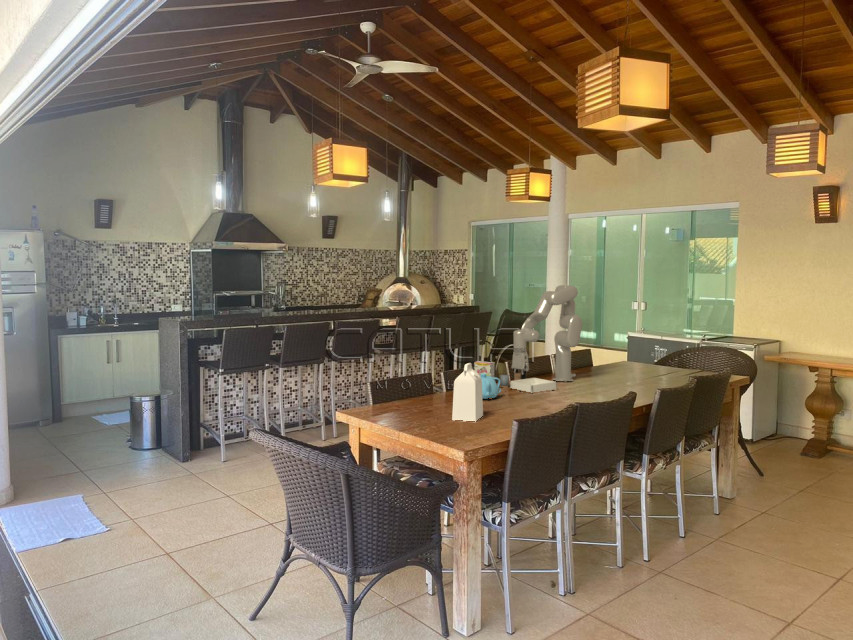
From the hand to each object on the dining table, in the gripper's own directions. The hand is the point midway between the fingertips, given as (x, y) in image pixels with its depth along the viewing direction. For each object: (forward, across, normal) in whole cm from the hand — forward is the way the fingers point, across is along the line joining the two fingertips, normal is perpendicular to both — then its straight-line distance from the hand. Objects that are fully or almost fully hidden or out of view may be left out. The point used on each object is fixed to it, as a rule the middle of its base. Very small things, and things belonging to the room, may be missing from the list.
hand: (520, 379), depth 394 cm
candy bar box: (+2, -1, +30) cm, 30 cm away
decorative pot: (+2, -19, +46) cm, 49 cm away
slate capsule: (+3, -1, +14) cm, 14 cm away
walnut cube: (+1, 0, 0) cm, 1 cm away
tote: (+3, -18, +7) cm, 19 cm away
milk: (+1, -51, +83) cm, 97 cm away
